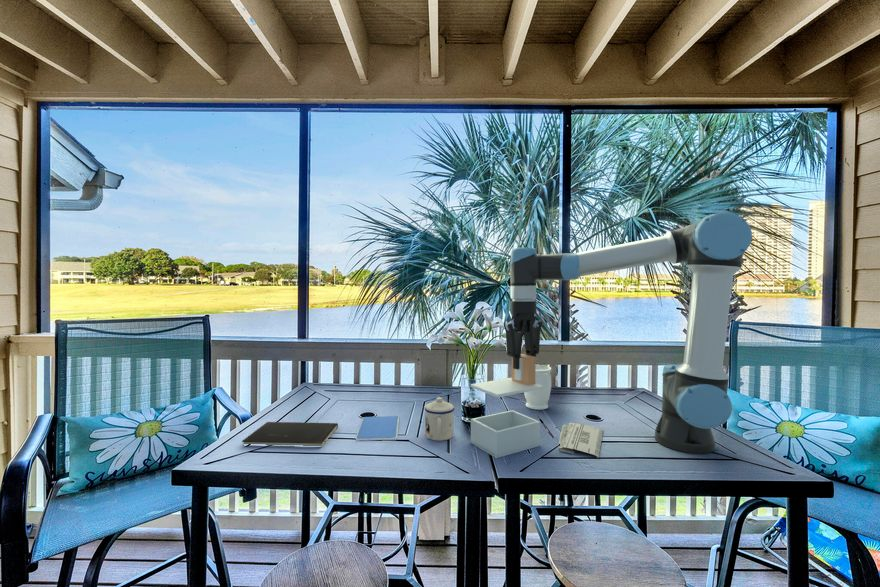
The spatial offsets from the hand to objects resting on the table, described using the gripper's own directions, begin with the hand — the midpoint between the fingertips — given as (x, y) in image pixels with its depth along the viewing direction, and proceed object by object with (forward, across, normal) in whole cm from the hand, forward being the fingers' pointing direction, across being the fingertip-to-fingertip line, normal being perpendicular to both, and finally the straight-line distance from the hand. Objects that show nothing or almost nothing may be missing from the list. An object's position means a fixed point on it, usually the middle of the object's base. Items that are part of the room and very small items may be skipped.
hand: (523, 378), depth 120 cm
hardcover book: (+18, +59, -37) cm, 72 cm away
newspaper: (+19, -14, +9) cm, 25 cm away
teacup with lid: (+18, +21, -14) cm, 31 cm away
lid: (+2, +6, 0) cm, 7 cm away
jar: (+19, -26, -21) cm, 39 cm away
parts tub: (+18, +7, 0) cm, 20 cm away
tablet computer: (+19, +34, -30) cm, 49 cm away
